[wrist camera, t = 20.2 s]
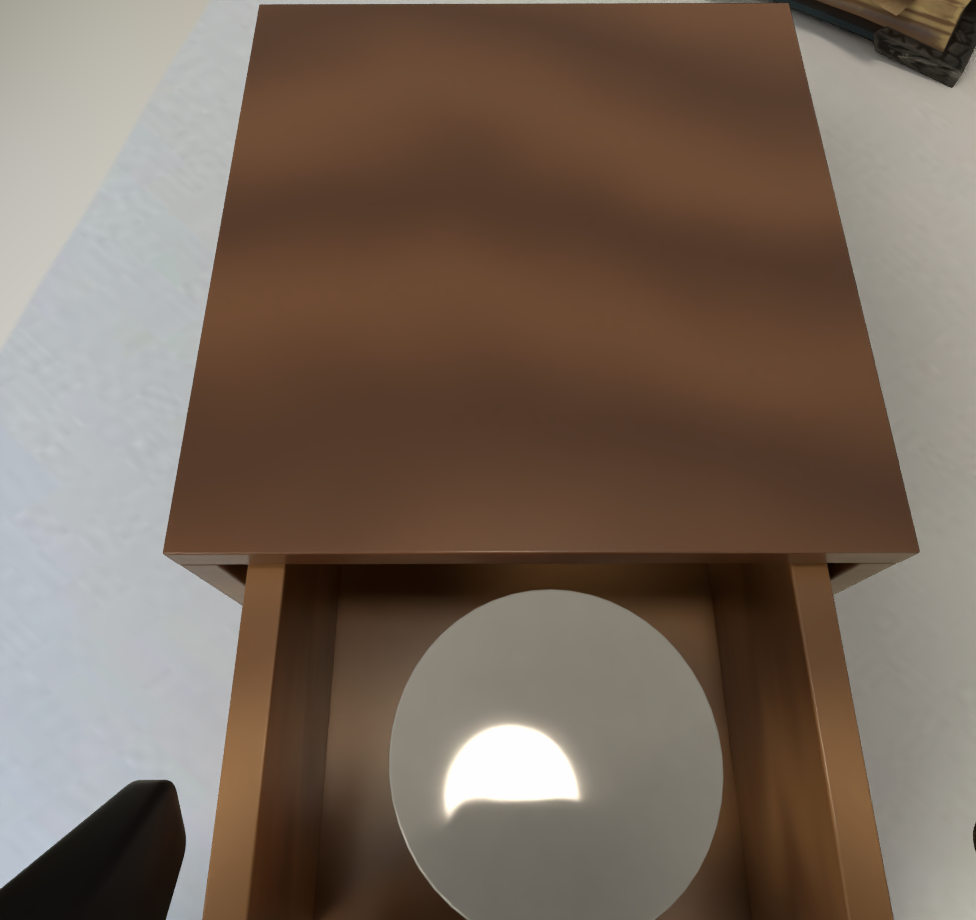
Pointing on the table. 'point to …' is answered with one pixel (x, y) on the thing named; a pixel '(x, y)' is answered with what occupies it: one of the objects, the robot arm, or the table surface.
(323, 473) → the cabinet
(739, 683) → the drawer
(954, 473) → the table surface
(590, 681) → the amber jar
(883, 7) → the book
